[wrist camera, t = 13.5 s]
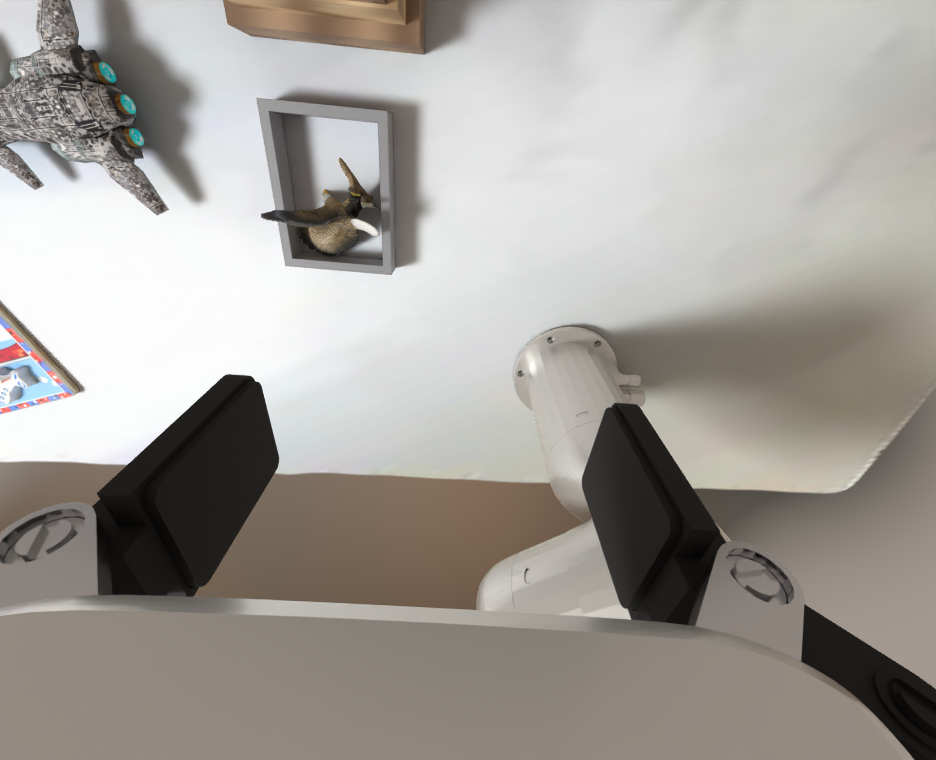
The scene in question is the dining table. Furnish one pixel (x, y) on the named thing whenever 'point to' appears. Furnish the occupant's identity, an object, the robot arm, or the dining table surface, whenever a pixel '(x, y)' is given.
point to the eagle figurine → (331, 219)
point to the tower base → (334, 22)
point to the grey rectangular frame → (284, 192)
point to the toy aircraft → (71, 108)
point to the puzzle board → (27, 370)
